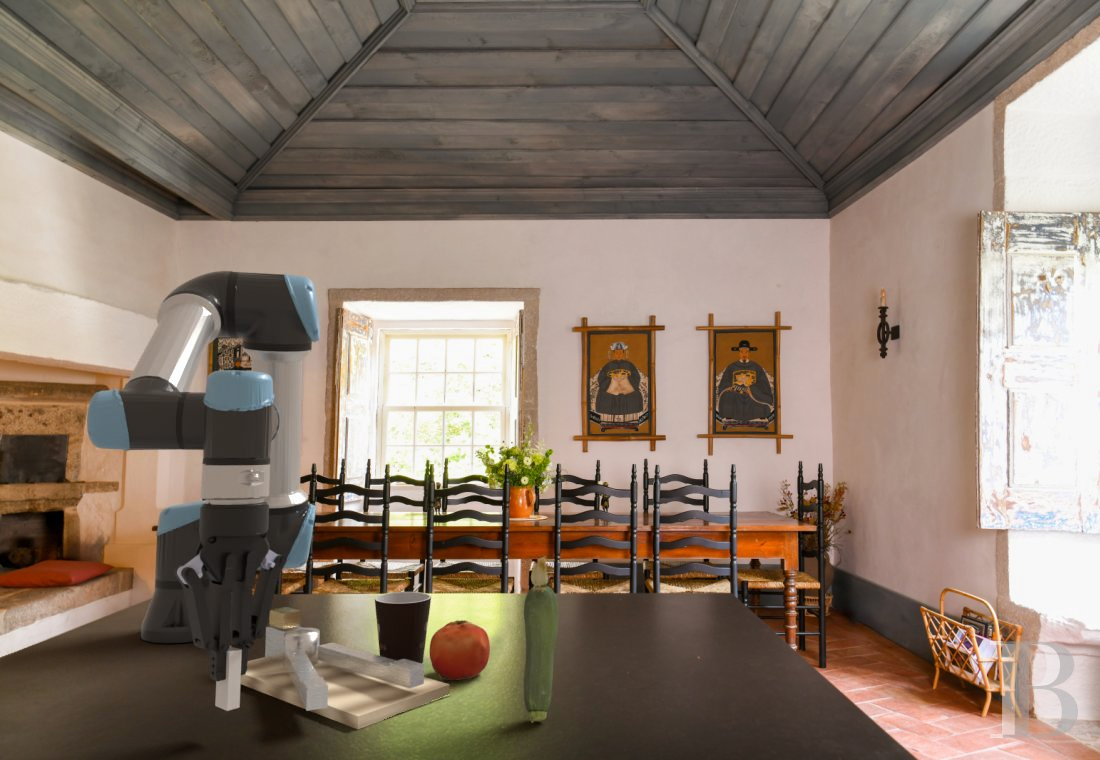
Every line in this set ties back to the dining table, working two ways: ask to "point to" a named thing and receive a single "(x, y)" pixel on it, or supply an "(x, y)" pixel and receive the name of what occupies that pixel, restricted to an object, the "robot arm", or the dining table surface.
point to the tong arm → (306, 680)
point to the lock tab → (285, 617)
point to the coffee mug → (402, 624)
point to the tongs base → (341, 656)
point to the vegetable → (539, 642)
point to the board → (344, 692)
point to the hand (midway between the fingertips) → (227, 706)
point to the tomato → (459, 650)
